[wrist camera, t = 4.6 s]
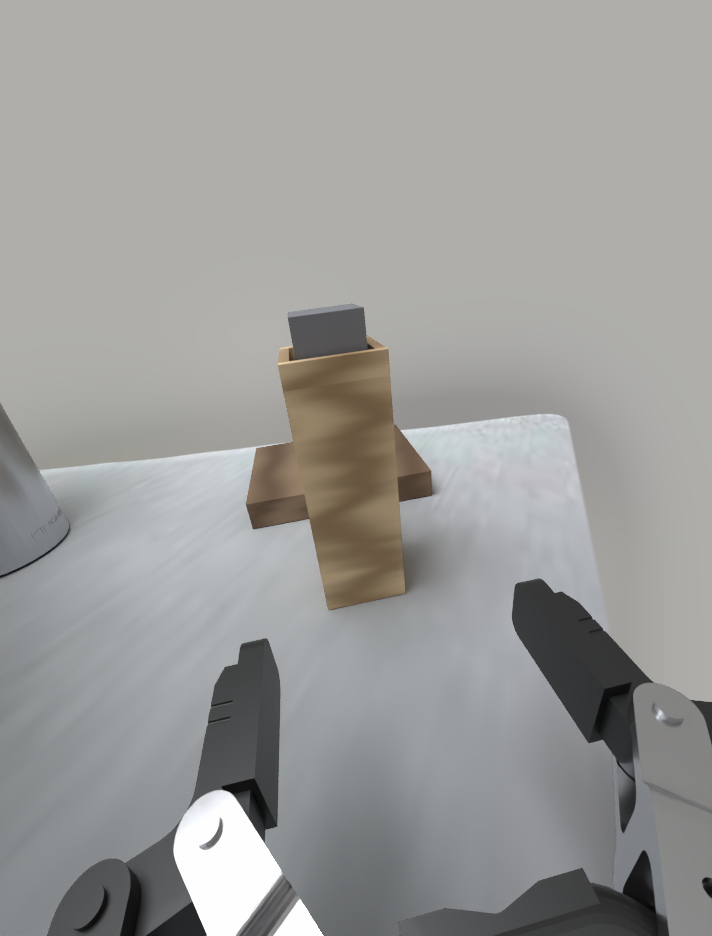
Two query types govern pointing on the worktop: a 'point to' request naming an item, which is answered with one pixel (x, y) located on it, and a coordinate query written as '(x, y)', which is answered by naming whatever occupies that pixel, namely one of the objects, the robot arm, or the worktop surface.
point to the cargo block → (328, 331)
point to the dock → (282, 490)
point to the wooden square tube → (348, 469)
